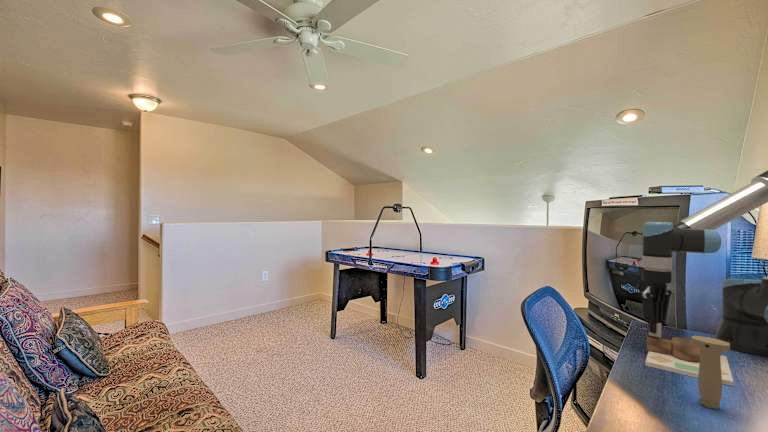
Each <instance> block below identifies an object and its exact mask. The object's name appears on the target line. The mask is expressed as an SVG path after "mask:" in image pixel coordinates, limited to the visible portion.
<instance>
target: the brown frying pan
mask: <svg viewBox="0 0 768 432" xmlns="http://www.w3.org/2000/svg"><path fill="white" fill-rule="evenodd" d="M646 350H647V351H649V350H651V351H656V352H660V353H665V354H670V355H671V354H672V355H673V356H675V357H677V358H680V359H683V360H687V361H693V362H700V348H699V347H697V346H696V345H694V344H693V343H692V338H687V337H682V336H674V337H671V339H666V338H662V337H661V338H660V337H656V336H650V335H649V334H648V335H647V336H646Z"/></svg>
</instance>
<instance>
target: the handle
mask: <svg viewBox="0 0 768 432" xmlns="http://www.w3.org/2000/svg"><path fill="white" fill-rule="evenodd" d="M691 339H692V343H693V344H694V345H696V346H697V347H699V348H700V364H699V374H698V378H697V386H698V394H699V403H700V405H702V406H704V407H705V408H708V409H714V410H718V409H719V408H720V405H721V400H722V395H723V394H722V393H723V384H722V376H721V361H720V356H721V355H722V353H725V352H729V351H730V350H731V349H730V343H728V342H725V341H721V340H718V339H715V338H712V337H707V336H702V335H701V336H700V335H692V336H691Z"/></svg>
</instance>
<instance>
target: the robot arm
mask: <svg viewBox="0 0 768 432" xmlns="http://www.w3.org/2000/svg"><path fill="white" fill-rule="evenodd" d="M767 203H768V169H767V170H766V171H764V172H762V173H760V174H758V175H756V176H754V177H753V178H751V181H750V183H748V184H747V185H745V186H743V187H741V188H739V189H738V190H736V191H734V192H732V193H730V194H728V195H726V196H724V197H722V198H720V199H718V200H717V201H715V202H713V203H711V204H709V205H707V206H706V207H704V208H702V209H700V210H698V211H696V212H694V213H693V214H691V215H688V216H686V217H685V218H683V219H681V220H679V221H678V222H675V223H674V224H673V223H672V222H670V221H645V223H644V224H643V227H642V254H641V255H642V258H641V262H642V265H641V267H642V269H641V280H642V281H643V282H644V281H645V283H646V284H645V287H644V288H645V289H644V291H639V295H640V298H641V303H642V310H643V319H644V321H646V322H648V323H649V324H648V335H650V336H656V337H660V338H661V339H662V324H666V322H667V321H666V320H667V316H668V310H669V303H670V298H671V295H672V290H671V289H667V288H668V284H671V283H672V269H673V252H674V253H689V254H690V253H691V254H692V253H693V254H704V255H705V254H715V253H718V252H719V250H720V249H721V246H722V237H721V234H720V233H719V232H718V231H717V230H716V229H718V228H721V227H722V226H724V225H726V224H728V223H730V222H732V221H734V220H736V219H738V218H739V217H741V216H744V215H746V214H748V213H750V212H751V211H753V210H756V209H757V208H759V207H762V206H763V205H765V204H767ZM714 339H718V340H721V341H725V342H728V343H730V350H734V351H738V352H741V353H746V354H751V355H757V356H766V357H767V356H768V275H767V276H764V277H762V279H750V278H749V279H747V278H725V279H724V280H723V282H722V321H721V323H720V325H719V327H718V329H717V331H716V333H715V337H714Z"/></svg>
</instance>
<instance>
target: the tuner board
mask: <svg viewBox="0 0 768 432" xmlns="http://www.w3.org/2000/svg"><path fill="white" fill-rule="evenodd" d="M720 361H721V376H722V385H727V386H730V387H734V379H733V375H732V372H731V368H730V365H729V362H728V357H727V356H726V355H722V354H721V356H720ZM644 363H645V367H649V368H655V369H659V370H662V371H668V372H671V373H676V374H679V375H684V376H688V377H692V378H697V379H698V374H699V364H700V362H693V361H687V360H683V359H680V358H677V357H675V356H673V355H672V354H671V355H670V354H665V353H660V352H656V351H651V350H647V355H646V358H645V362H644Z"/></svg>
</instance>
